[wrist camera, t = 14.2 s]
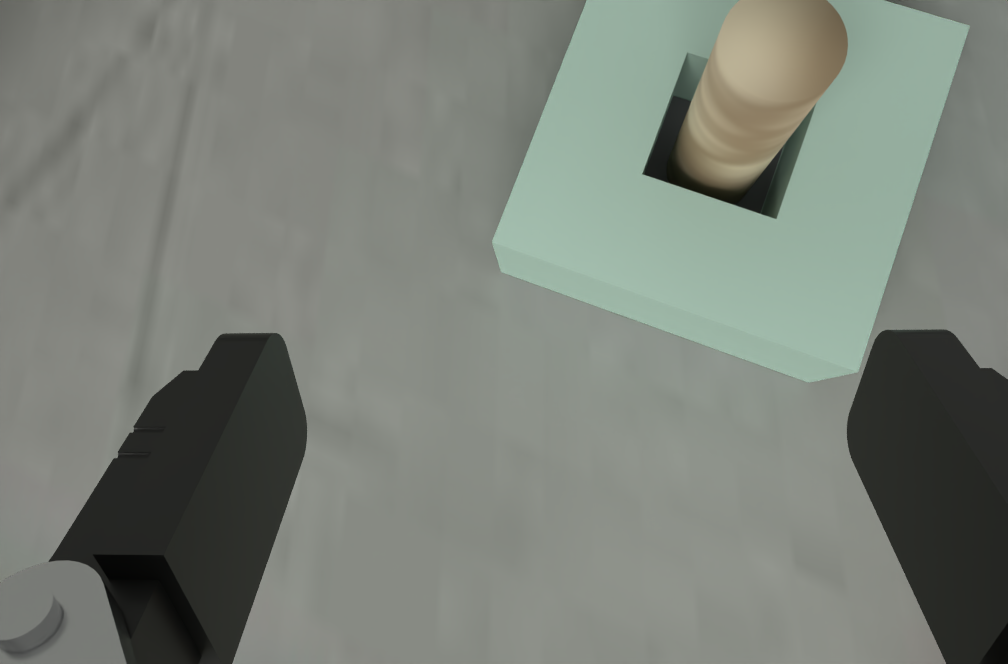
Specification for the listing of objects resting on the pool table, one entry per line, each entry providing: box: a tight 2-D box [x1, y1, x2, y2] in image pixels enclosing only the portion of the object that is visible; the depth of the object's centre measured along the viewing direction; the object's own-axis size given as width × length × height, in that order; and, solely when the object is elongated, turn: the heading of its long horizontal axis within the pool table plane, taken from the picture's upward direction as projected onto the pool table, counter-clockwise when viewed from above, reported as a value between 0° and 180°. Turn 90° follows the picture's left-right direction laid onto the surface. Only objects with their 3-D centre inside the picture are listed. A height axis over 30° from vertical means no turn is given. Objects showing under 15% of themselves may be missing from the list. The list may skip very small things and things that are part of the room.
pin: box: [667, 0, 848, 205], centre depth 26 cm, size 4×4×10 cm
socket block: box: [492, 0, 970, 383], centre depth 30 cm, size 14×14×5 cm
